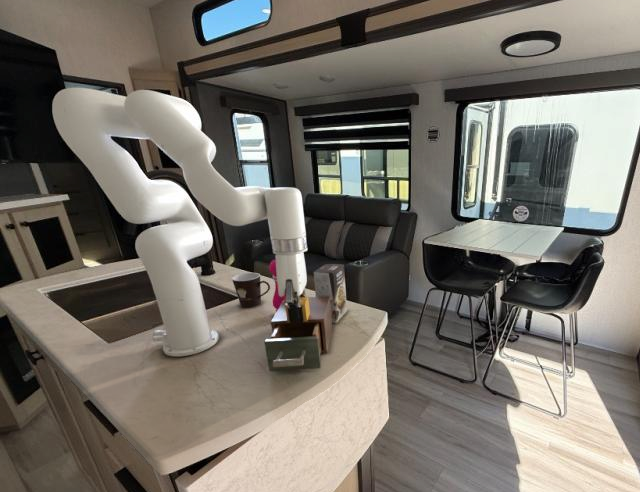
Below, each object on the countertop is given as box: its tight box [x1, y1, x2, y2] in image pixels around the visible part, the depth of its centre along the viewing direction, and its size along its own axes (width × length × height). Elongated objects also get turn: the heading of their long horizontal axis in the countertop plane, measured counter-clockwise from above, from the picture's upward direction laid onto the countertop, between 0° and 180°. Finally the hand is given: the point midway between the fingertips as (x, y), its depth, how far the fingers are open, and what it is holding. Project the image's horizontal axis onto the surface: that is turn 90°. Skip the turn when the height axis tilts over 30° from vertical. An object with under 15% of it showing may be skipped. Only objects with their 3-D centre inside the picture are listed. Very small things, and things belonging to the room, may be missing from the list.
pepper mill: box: [269, 255, 286, 313], centre depth 98 cm, size 7×7×20 cm
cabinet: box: [270, 296, 333, 354], centre depth 85 cm, size 15×13×10 cm
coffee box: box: [313, 263, 348, 324], centre depth 98 cm, size 9×6×16 cm
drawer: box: [263, 322, 323, 373], centre depth 75 cm, size 18×11×8 cm, turn 6°
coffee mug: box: [231, 272, 271, 309], centre depth 107 cm, size 12×9×10 cm
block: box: [285, 296, 310, 322], centre depth 77 cm, size 5×5×5 cm
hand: (298, 316), depth 78 cm, fingers closed on block, 4 cm apart
